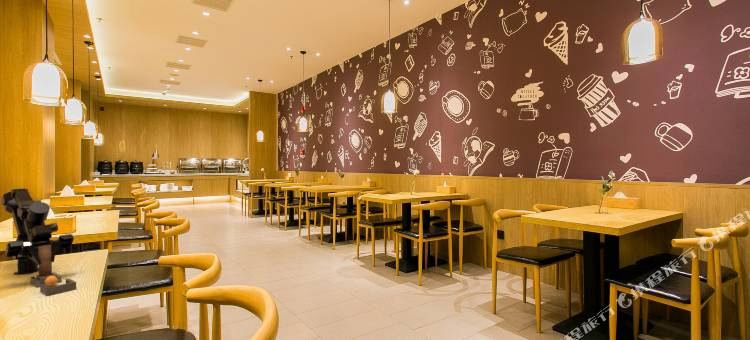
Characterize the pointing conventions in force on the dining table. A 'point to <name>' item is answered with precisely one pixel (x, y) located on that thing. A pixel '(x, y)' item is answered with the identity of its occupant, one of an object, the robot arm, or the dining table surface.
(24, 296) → the dining table surface
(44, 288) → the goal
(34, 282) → the track
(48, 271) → the slider
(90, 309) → the dining table surface
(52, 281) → the ball
